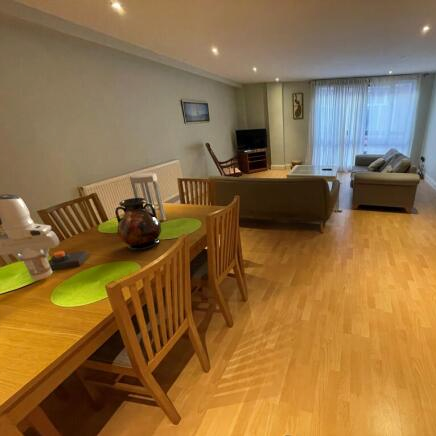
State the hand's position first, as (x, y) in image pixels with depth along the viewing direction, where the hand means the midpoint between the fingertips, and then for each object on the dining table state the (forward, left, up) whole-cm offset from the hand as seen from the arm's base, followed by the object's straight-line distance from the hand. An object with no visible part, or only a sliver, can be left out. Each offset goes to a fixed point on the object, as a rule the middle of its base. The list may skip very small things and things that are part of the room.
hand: (35, 258), depth 108 cm
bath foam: (0, 0, -9) cm, 9 cm away
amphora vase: (+38, +21, -11) cm, 45 cm away
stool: (+38, +59, -11) cm, 71 cm away
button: (+2, +13, -6) cm, 15 cm away
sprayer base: (+4, +13, -11) cm, 17 cm away
